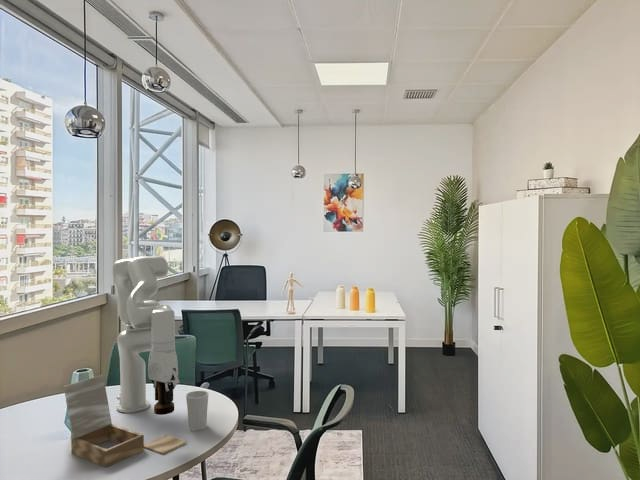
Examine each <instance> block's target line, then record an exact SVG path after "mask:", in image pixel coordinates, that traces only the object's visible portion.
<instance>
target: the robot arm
mask: <svg viewBox="0 0 640 480" xmlns="http://www.w3.org/2000/svg"><path fill="white" fill-rule="evenodd" d="M112 265H113V266H112V275H113V281H114V283H115V285H116V287H117V290H118V299H119V302H118V303H119V304H118V305H119V319H120V322H121V324H122V325H123V326H127V327H129V326H130V327H132V328H129V329H125V330H122V331H121V332H119V334H118V335H117V338H116V343H117V347H118V348H117V349H118V354H119V371H120V372H119V373H120V376H119V377H120V382H119V383H120V394H119V395H117V396H116V399H117V401H119V403H118V404H116V411H118V412H120V413H126V414H127V413H128V414H129V413H130V414H131V413H132V414H133V413H137V412H141V411H144V410H146V409H149V407H151V402H150V401H149V400H147V393H146V392H147V387H146V385H147V384H146V381H147V380H146V377H148V379H149V380H150V381H151V382H152V384H153V388H154V400H155V401H157V402H158V382H162V383H165V388H166V391H165V392H164V396H165V403H168V402H171V401H172V402H173V401H174V390H175V388H176V386H177V385H179V384H180V383H181V381H180V380H179V365H178V355H177V352H176V351H177V350H176V331H175V330H176V325H175V324H176V322H175V321H176V320H175V319H176V318H175V315H176V314H175V311H174V310H173V309H172V307H170V305H167V304H160V303H159V302H158V301H157V300H151V299H149V298H152V297H153V296H154V295H155V294H156V293H158V290H159V288H160V287H159V286H160V285H159V282H158V280H157V279H163V278H166V277H167V275H168V273H169V265H168V262H167V260H166V259H165V258H164V257H163V256H162V255H154V256H149V255H148V256H136V257H133V258H124V259H119V260H117V261H115V262H114V263H113V264H112ZM148 299H149V300H148ZM145 352H146V353H147V352H149V355H148V363H147V375H146V362H145V360H144V359H143V358H142V357H141V356H140V353H145ZM157 381H158V382H157ZM169 383H170V385H169Z"/></svg>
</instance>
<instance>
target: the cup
mask: <svg viewBox="0 0 640 480" xmlns="http://www.w3.org/2000/svg"><path fill="white" fill-rule="evenodd" d="M185 397H186V398H185V399H186V400H185V401H186V407H187V417H188V418H187V419H188V429H189V430H191V431H201V430H205V429H206V428H207V427H208V426H207V425H208V424H207V421H208V420H207V418H208V406H209V405H208V404H209V392H208V391H205V390H193V391H190V392H187V393H186V394H185Z"/></svg>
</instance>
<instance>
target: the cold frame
mask: <svg viewBox="0 0 640 480" xmlns="http://www.w3.org/2000/svg"><path fill="white" fill-rule="evenodd" d="M104 378H105V377H104V375H103V374H101V375H97V376H93V377H90V378H87V379H83V380H80V381H77V382H73V383H69V384H66V385H63V391H64V397H65V403H66V408H67V414H68V415H67V416H68V419H69V420H68V421H69V428H70V435H71V436H70V439H71V440H70V442H71V443H70V444H71V454H73V455H75V456H78V457H81V458H83V459H84V460H88V461H90V462H91V463H94V464H97V465H99V466H102V467H105V468H108V467H110V466H112V465H114V464H117V463H119V462H121V461H123V460H125V459H128V458H130V457H131V456H134V455H136V454H138V453H141V452H143V451H144V450H145V448H144V445H145V435H144V434H141V433H139V432H136V431H133V430H129V429H127V428H124V427H122V426H118V425H116V424H113V423H112V417H111V416H112V415H111V412H110V411H111V410H110V406H109V401H108V400H109V399H108V393H107V388H106V383H105V379H104ZM108 440H110V441H113V442H115V443H118V444H116V445H113V446H111V447H109V448H104V447H101V446H99V445H98V444H101V443H104V442H106V441H108Z"/></svg>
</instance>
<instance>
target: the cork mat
mask: <svg viewBox="0 0 640 480" xmlns="http://www.w3.org/2000/svg"><path fill="white" fill-rule="evenodd" d="M186 444H187V441H186V440H184V439H183V440H182V439H181V438H176V437H174V436H171V435H167V434H165V435H163V436H161V437H160V436H159V437H158V438H156V439H154V440H152V441H150V442H148V443H144V449H146V450H149V451H152V452H153V453H157V454H160V455H165V454H167V453H170V452H172V451H173V450H176V449H177V448H180V447H181V446H183V445H186Z"/></svg>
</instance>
